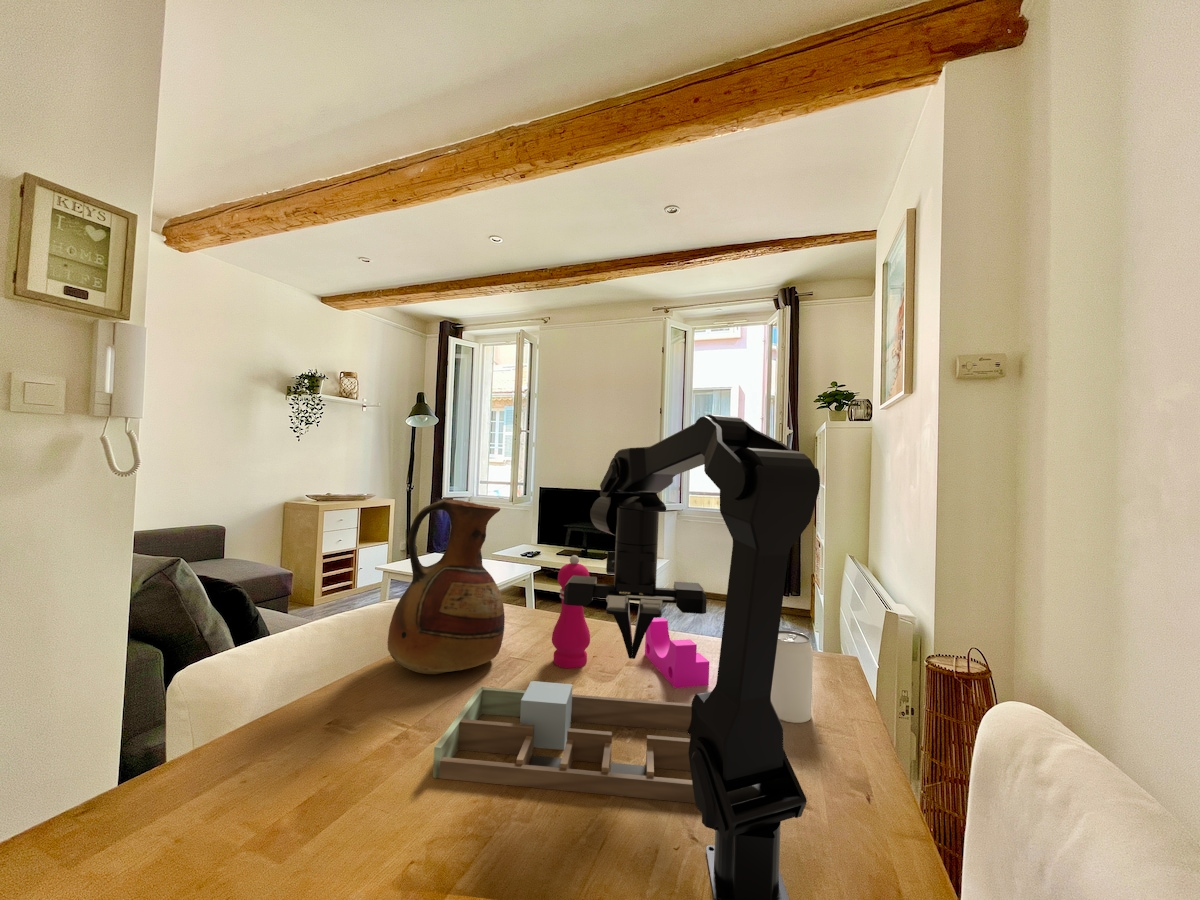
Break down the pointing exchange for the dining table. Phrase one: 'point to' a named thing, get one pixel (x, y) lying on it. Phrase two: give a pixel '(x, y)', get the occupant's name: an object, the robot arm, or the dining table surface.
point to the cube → (548, 713)
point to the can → (792, 677)
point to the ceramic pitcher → (449, 599)
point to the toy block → (675, 657)
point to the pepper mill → (570, 624)
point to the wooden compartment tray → (568, 747)
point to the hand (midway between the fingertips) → (632, 657)
